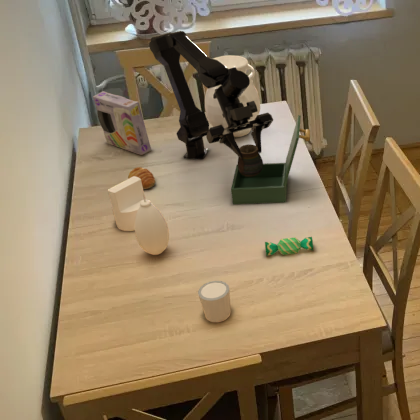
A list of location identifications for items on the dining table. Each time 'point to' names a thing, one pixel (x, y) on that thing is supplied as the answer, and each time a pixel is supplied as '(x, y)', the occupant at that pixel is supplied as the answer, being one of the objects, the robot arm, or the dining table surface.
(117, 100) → the cake pan box
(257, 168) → the mate gourd
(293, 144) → the green box lid
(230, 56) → the cream handled vase
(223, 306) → the white cylinder
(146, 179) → the pastry
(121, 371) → the dining table surface
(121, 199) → the base with upright slab
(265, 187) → the green open box
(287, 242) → the candy
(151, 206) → the bulb air blower
